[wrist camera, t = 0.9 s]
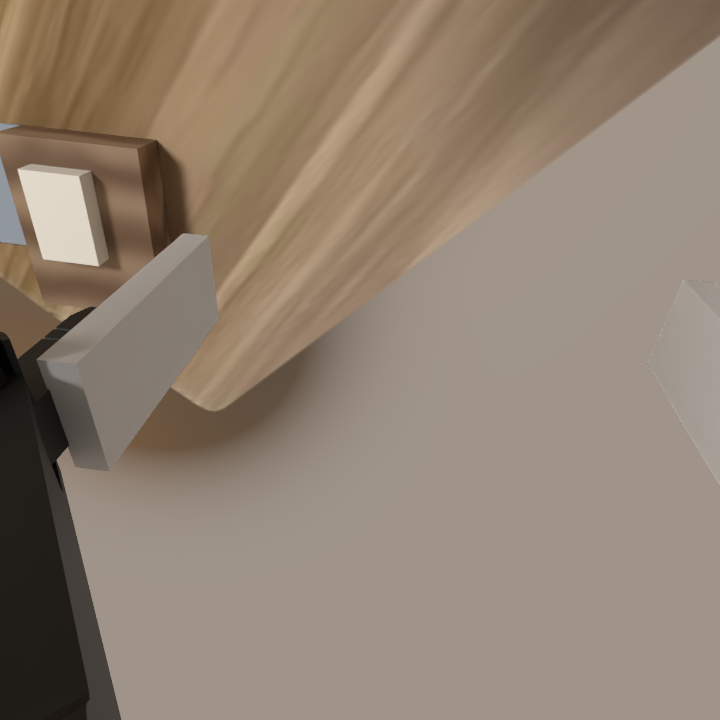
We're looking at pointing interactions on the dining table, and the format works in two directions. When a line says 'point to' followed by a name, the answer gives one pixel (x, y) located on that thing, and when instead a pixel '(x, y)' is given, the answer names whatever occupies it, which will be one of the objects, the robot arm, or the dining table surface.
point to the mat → (8, 208)
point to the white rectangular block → (64, 214)
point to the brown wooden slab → (115, 201)
